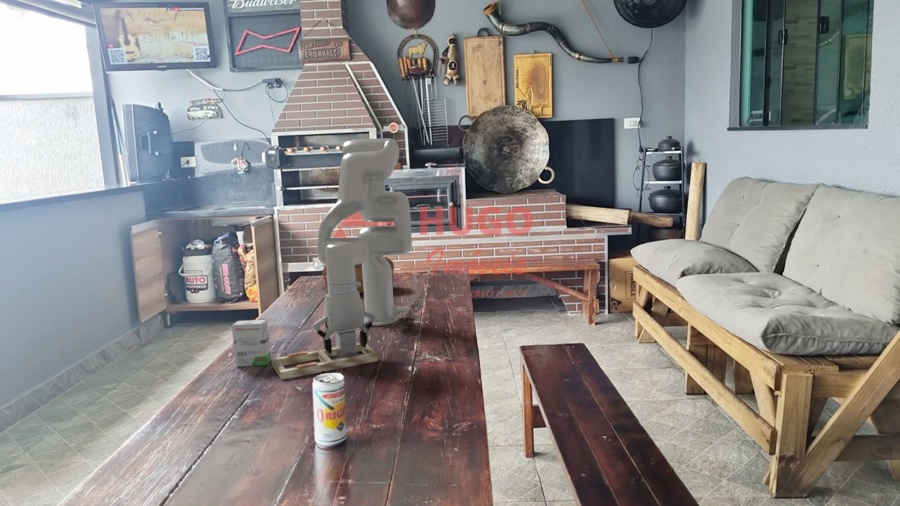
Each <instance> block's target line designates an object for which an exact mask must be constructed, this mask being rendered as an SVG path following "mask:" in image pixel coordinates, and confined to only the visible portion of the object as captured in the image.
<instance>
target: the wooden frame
mask: <svg viewBox="0 0 900 506" xmlns="http://www.w3.org/2000/svg"><path fill="white" fill-rule="evenodd" d="M356 344H357V353H358V352H361V353H362V354H360V355H359V354H358V355H357V356H354V357H348V358H343V359H334V360H332V359H331V357H337V353H336V346H334V347H332V353H331V354H329V353H328V352H327V350H325V348H324V349H318V350H312V351H307V350H303V351H299V352H298V351H297V352H292V353H288V354H287V355H285V356H279V357H275V358H271V364H272V365H271V366H272V367H273V369H274V370H275V372H276V373H277V375H278V377H279V378H280V380H286V379H287V380H288V379H292V378H293V379H294V378H298V377H302V376H303V377H304V376H308V375H312V374H313V375H314V374H318V373H323V372H322V371H324V372H329V371H334V370H339V369H344V368H349V367H354V366H359V365H363V364H368V363H375V362H378V361H379V354H378V353H377V351H375V350H374V349H373V348H371V347H370V346H369V345H368V343H366V347H362V346H361V345H360V342H356ZM315 360H318V361H320V362H316V361H315ZM309 361H313V362H309ZM305 362H308V363H305ZM300 363H302V364H300ZM293 364H297V365H296V367H291V368H285V366H289V365H293Z"/></svg>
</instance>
